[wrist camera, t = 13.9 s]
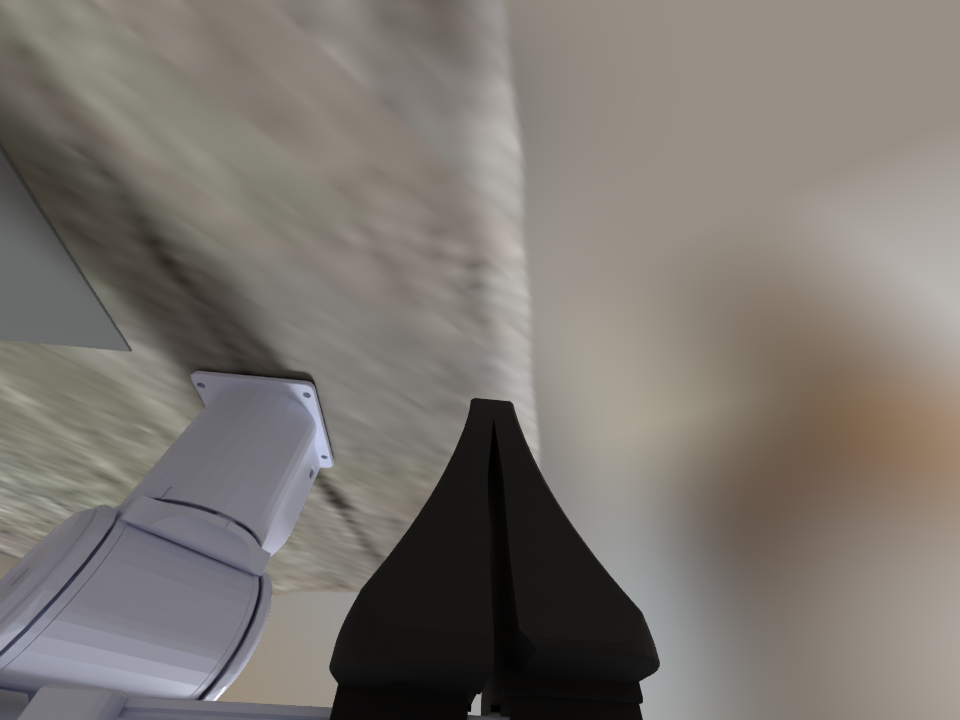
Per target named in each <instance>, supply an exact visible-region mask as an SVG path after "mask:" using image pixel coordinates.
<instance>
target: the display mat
mask: <svg viewBox="0 0 960 720" xmlns="http://www.w3.org/2000/svg"><path fill="white" fill-rule="evenodd" d="M0 339H3V340H13V341H24V342H34V343H45V344H55V345H66V346H76V347H87V348H97V349H108V350H118V351H129V352H130V351H132V349H131V348H130V346H129V345H128V343H127V341H126V340H125V338H124V337H123V335H122V334H121V332H120V331H119V329H118V327H117V326H116V324H115V323H114V321H113V320H112V318H111V316H110V315H109V313H108V312H107V310H106V309H105V307H104V306H103V304H102V302H101V301H100V299H99V298H98V296H97V295H96V293H95V292H94V290H93V288H92V287H91V285H90V284H89V282H88V281H87V279H86V277H85V276H84V274H83V273H82V271H81V270H80V268H79V267H78V265H77V263H76V262H75V260H74V259H73V257H72V256H71V254H70V253H69V251H68V249H67V248H66V246H65V245H64V243H63V242H62V240H61V238H60V237H59V235H58V234H57V232H56V231H55V229H54V228H53V226H52V224H51V223H50V221H49V220H48V218H47V217H46V215H45V214H44V212H43V210H42V209H41V207H40V206H39V204H38V203H37V201H36V199H35V198H34V196H33V195H32V193H31V192H30V190H29V189H28V187H27V185H26V184H25V182H24V181H23V179H22V178H21V176H20V175H19V173H18V171H17V170H16V168H15V167H14V165H13V164H12V162H11V160H10V159H9V157H8V156H7V154H6V153H5V151H4V150H3V148H2V146H1V145H0Z"/></svg>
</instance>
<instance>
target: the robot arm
mask: <svg viewBox="0 0 960 720" xmlns="http://www.w3.org/2000/svg"><path fill="white" fill-rule="evenodd" d="M190 377H191V380H192V382H193V383H194V385H195V387H196V389H197V391H198V393H199V394H200V396H201V398H202V400H203V402H204V404H205V405H206V406H205V407H204V409H203V410H202V411H201V412H200V413H199V414H198V416H197V417H196V418H195V419H194V420H193V421H192V423H191V424H190V425H189V426H188V427H187V428H186V430H185V431H184V432H183V433H182V434H181V435H180V436H179V438H178V439H177V440H176V441H175V442H174V443H173V445H172V446H171V447H170V448H169V449H168V450H167V452H166V453H165V454H164V455H163V456H162V457H161V458H160V460H159V461H158V462H157V463H156V464H155V465H154V467H153V468H152V469H151V470H150V471H149V472H148V474H147V475H146V476H145V477H144V478H143V479H142V480H141V482H140V483H139V484H138V485H137V486H136V487H135V489H134V490H133V491H132V492H131V493H130V494H129V496H128V497H127V498H126V499H125V500H124V501H123V503H122V504H121V505H119V506H117V507H116V508H114V509H113V508H112V507H110V506H108V505H99V506H97V507H94V508H93V509H88V510H84V511H80V512H77V513H75V514H74V515H72V516H71V517H69V518H68V519H66V520H65V521H64V522H62V523H61V524H60V525H59V526H58V527H56V528H55V529H54V530H53V531H52V532H50V533H49V534H48V535H47V536H46V537H45V538H44V539H42V540H41V541H40V542H39V543H38V544H37V545H36V546H35V547H34V548H33V549H32V550H31V551H29V552H28V553H27V554H26V555H25V556H24V557H23V558H22V559H21V560H20V561H19V562H18V563H17V564H16V565H15V566H14V567H13V568H12V569H11V570H10V571H9V572H8V573H7V574H6V575H5V576H4V577H3V578H2V579H1V580H0V720H643V719H642V715H641V710H640V706H639V704H641V703H643V697H642V692H641V688H640V684H639V681H641V680H643V679H645V678H646V677H648V676H650V675H652V674H653V673H655V672H656V671H657V670H658V668H659V666H660V662H659V658H658V654H657V651H656V647H655V644H654V641H653V638H652V636H651V634H650V631H649V628H648V626H647V623H646V621H645V618H644V616H643V614H642V612H641V611H640V610H639V608H638V607H637V606H636V605H635V604H634V603H633V602H632V601H631V599H630V598H629V597H628V596H627V595H626V594H625V592H623V590H622V589H621V588H620V587H619V585H618V584H617V583H616V582H615V581H614V579H613V578H612V577H611V576H610V575H609V573H608V572H607V571H606V570H605V568H604V567H603V566H602V565H601V564H600V562H599V561H598V560H597V558H596V557H595V556H594V554H593V553H592V552H591V550H590V549H589V548H588V546H587V545H586V543H585V542H584V541H583V539H582V538H581V537H580V535H579V534H578V533H577V531H576V530H575V528H574V527H573V526H572V524H571V523H570V521H569V520H568V518H567V516H566V515H565V514H564V512H563V510H562V509H561V507H560V506H559V504H558V502H557V501H556V499H555V498H554V496H553V494H552V492H551V491H550V489H549V487H548V485H547V483H546V482H545V480H544V478H543V476H542V474H541V472H540V470H539V468H538V466H537V464H536V462H535V460H534V458H533V456H532V454H531V451H530V449H529V447H528V445H527V442H526V440H525V438H524V435H523V433H522V430H521V427H520V425H519V422H518V419H517V416H516V413H515V410H514V406H513V404H512V403H511V401H500V400H490V399H479V398H474V399H472V400H471V403H470V410H469V414H468V418H467V421H466V424H465V427H464V430H463V432H462V435H461V437H460V440H459V442H458V444H457V447H456V449H455V451H454V453H453V455H452V457H451V459H450V461H449V463H448V465H447V467H446V469H445V471H444V473H443V475H442V477H441V479H440V481H439V482H438V484H437V486H436V487H435V489H434V491H433V493H432V494H431V496H430V498H429V499H428V501H427V502H426V504H425V505H424V507H423V508H422V510H421V512H420V513H419V515H418V516H417V518H416V519H415V521H414V522H413V524H412V525H411V526H410V528H409V529H408V531H407V532H406V533H405V535H404V536H403V537H402V539H401V540H400V541H399V543H398V544H397V545H396V547H395V548H394V549H393V551H392V552H391V553H390V555H389V556H388V557H387V559H386V560H385V561H384V562H383V563H382V565H381V566H380V567H379V568H378V570H377V571H376V572H375V573H374V574H373V576H372V577H371V578H370V579H369V580H368V582H367V583H366V584H365V585H364V587H363V588H362V589H361V591H360V593H359V595H358V596H357V598H356V600H355V602H354V603H353V605H352V607H351V609H350V611H349V613H348V615H347V617H346V619H345V621H344V623H343V625H342V627H341V630H340V632H339V635H338V638H337V640H336V644H335V647H334V651H333V655H332V659H331V662H330V666H329V668H330V672H331V674H332V675H333V677H334V678H335V680H336V681H337V683H338V687H337V692H336V695H335V700H334V703H333V707H332V708H329V707H312V706H294V705H275V704H274V705H273V704H258V703H257V704H256V703H239V702H222V701H221V702H220V701H216V700H217V699H218V698H219V697H220V696H221V694H222V693H223V692H224V691H225V690H226V689H227V688H228V687H229V686H230V685H231V684H232V683H233V682H234V680H235V679H236V678H237V676H238V675H239V674H240V673H241V671H242V670H243V668H244V667H245V665H246V664H247V662H248V661H249V659H250V657H251V656H252V654H253V652H254V650H255V648H256V646H257V645H258V642H259V640H260V638H261V636H262V634H263V631H264V628H265V626H266V623H267V620H268V616H269V612H270V607H271V596H272V583H271V579H270V577H269V575H268V574H267V573H266V572H264V569H265V567H266V565H267V562H268V560H269V558H270V557H271V556H272V555H273V554H274V553H275V552H276V551H277V550H279V549H280V548H281V546H282V545H283V544H284V543H285V542H286V540H287V539H288V537H289V536H290V534H291V532H292V530H293V528H294V526H295V523H296V521H297V519H298V516H299V514H300V512H301V510H302V507H303V505H304V503H305V500H306V498H307V496H308V494H309V491H310V489H311V487H312V484H313V482H314V480H315V478H316V475H317V473H318V471H319V468H320V467H325V468H330V467H332V466H333V464H334V460H333V456H332V452H331V448H330V444H329V440H328V436H327V432H326V428H325V425H324V421H323V417H322V413H321V409H320V405H319V401H318V397H317V393H316V390H315V386H314V385H313V384H312V383H311V382H309V381H302V380H291V379H280V378H270V377H259V376H248V375H238V374H227V373H216V372H206V371H195V372H194V373H193V374H192V375H191V376H190ZM308 393H309V394H308ZM481 692H482V697H481V716H473V715H468V712H471V704H472V702H473V700H474V698H475V696H476V694H481Z"/></svg>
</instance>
